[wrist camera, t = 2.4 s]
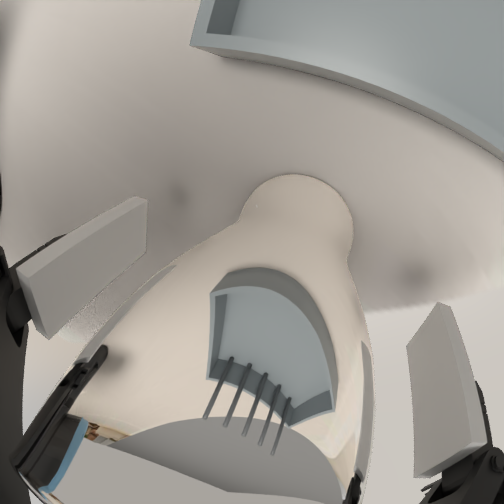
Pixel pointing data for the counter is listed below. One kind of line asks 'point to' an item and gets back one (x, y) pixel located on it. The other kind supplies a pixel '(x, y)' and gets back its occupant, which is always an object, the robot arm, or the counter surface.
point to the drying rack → (379, 51)
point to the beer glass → (222, 373)
